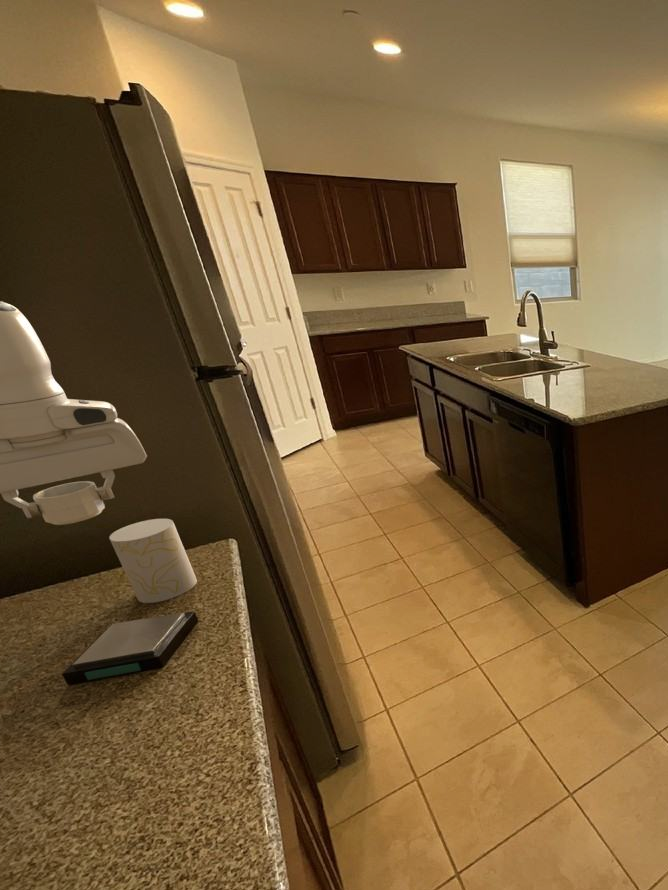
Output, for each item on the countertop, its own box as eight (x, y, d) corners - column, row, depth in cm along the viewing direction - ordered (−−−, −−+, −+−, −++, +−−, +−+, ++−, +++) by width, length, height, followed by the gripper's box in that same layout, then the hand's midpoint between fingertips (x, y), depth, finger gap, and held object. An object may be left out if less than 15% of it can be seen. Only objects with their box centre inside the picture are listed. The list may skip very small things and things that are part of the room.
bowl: (35, 529, 76) (20, 501, 74) (65, 510, 81) (52, 484, 80) (90, 522, 77) (76, 494, 76) (115, 504, 83) (103, 478, 81)
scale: (66, 686, 71) (58, 671, 70) (115, 634, 81) (108, 621, 80) (162, 668, 74) (156, 654, 73) (198, 621, 84) (193, 607, 83)
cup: (137, 608, 87) (107, 546, 83) (137, 588, 93) (110, 528, 88) (198, 589, 92) (174, 530, 87) (195, 571, 98) (172, 514, 93)
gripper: (-94, 441, 64) (-35, 539, 70) (127, 407, 78) (162, 491, 83) (-87, 431, 68) (-32, 525, 74) (122, 400, 82) (156, 481, 87)
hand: (73, 506), depth 79 cm, fingers closed on bowl, 6 cm apart
